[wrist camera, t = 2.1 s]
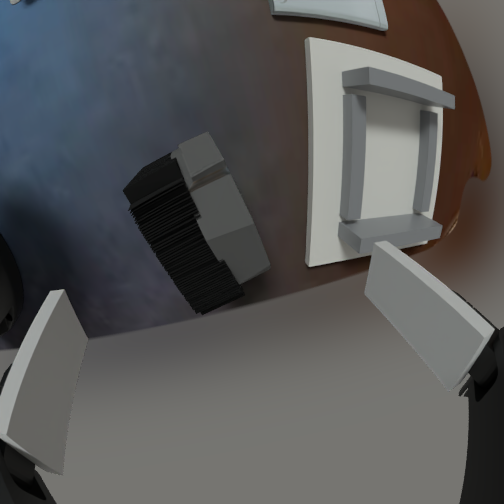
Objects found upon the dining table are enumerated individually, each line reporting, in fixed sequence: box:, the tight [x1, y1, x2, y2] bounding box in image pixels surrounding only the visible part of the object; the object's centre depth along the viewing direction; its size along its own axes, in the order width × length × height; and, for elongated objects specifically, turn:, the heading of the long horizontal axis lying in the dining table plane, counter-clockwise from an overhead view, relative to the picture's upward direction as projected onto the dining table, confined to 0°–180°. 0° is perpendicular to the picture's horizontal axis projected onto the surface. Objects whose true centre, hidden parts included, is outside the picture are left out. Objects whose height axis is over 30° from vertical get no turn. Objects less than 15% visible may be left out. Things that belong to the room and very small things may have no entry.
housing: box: [304, 37, 455, 267], centre depth 22 cm, size 18×22×5 cm
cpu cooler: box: [123, 132, 271, 315], centre depth 18 cm, size 10×6×10 cm, turn 22°
